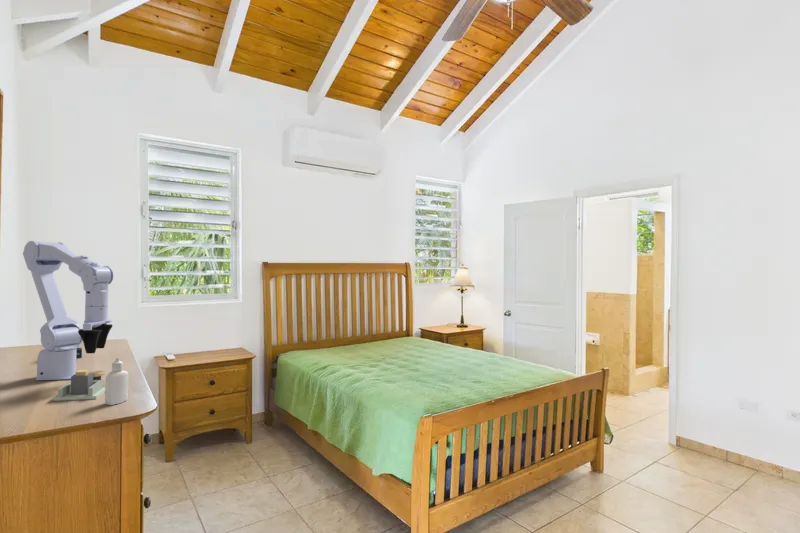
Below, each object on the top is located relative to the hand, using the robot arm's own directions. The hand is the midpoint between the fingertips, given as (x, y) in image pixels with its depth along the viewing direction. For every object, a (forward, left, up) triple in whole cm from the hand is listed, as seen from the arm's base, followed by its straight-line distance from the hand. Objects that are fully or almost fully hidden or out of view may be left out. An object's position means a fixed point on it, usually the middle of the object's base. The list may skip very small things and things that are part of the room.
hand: (95, 350), depth 138 cm
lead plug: (+1, -13, -9) cm, 16 cm away
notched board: (+1, -13, -10) cm, 16 cm away
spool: (+1, -4, -10) cm, 11 cm away
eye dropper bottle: (+12, -21, -10) cm, 26 cm away
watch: (-20, +39, -10) cm, 45 cm away
